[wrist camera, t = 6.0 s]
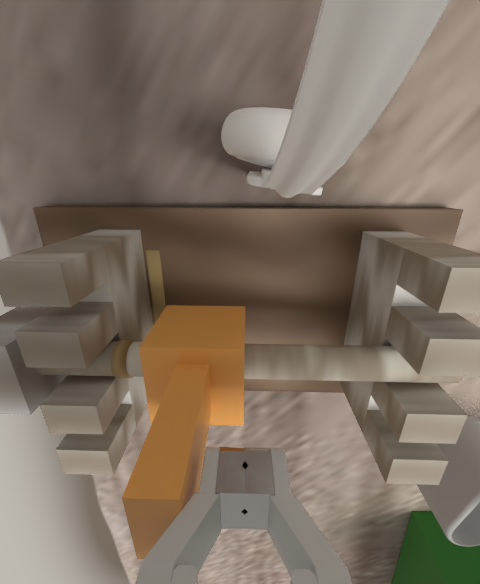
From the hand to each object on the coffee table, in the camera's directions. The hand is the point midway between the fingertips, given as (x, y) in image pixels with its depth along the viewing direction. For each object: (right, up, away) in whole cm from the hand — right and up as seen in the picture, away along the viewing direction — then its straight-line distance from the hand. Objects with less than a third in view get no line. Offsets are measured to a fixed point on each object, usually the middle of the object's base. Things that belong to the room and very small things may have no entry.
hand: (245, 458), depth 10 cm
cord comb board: (0, +5, +13) cm, 14 cm away
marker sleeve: (-2, +3, +8) cm, 9 cm away
